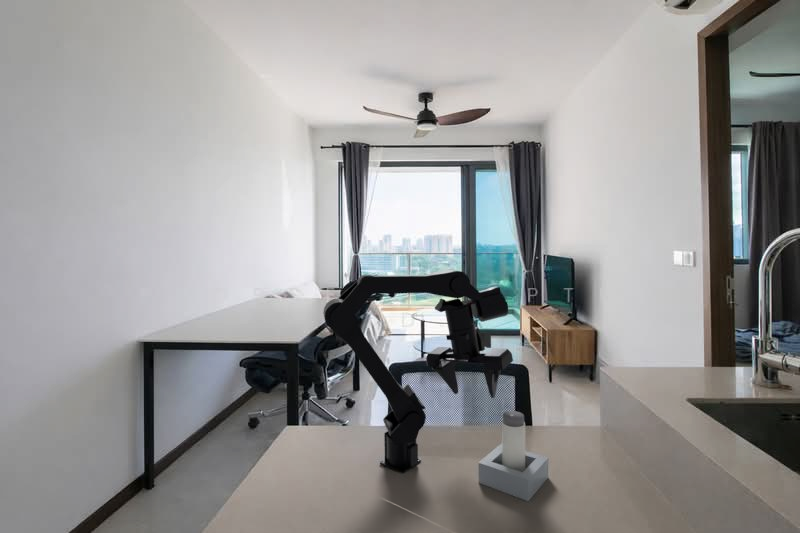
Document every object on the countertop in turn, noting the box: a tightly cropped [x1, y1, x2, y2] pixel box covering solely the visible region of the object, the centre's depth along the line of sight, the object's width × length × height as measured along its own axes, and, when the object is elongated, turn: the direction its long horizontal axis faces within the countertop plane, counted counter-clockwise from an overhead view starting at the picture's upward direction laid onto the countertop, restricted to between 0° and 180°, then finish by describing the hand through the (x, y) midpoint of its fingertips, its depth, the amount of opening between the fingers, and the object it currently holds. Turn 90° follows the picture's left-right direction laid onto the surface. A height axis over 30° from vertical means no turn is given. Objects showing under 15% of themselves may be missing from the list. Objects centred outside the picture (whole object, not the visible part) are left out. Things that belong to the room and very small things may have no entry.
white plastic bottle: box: [501, 410, 526, 472], centre depth 84 cm, size 4×4×12 cm
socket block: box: [478, 443, 549, 502], centre depth 84 cm, size 10×10×4 cm
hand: (474, 395), depth 95 cm, fingers open, 9 cm apart
